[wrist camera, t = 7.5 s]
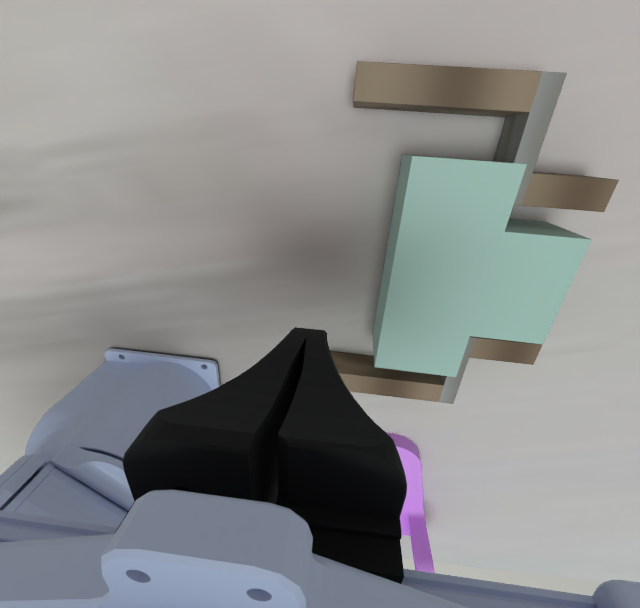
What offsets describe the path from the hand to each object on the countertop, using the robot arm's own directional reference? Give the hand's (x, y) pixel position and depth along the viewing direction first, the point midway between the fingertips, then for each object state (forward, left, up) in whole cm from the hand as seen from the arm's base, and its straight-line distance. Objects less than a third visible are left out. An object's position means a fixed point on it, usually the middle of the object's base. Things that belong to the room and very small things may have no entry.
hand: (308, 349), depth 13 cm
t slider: (+8, +1, -9) cm, 13 cm away
